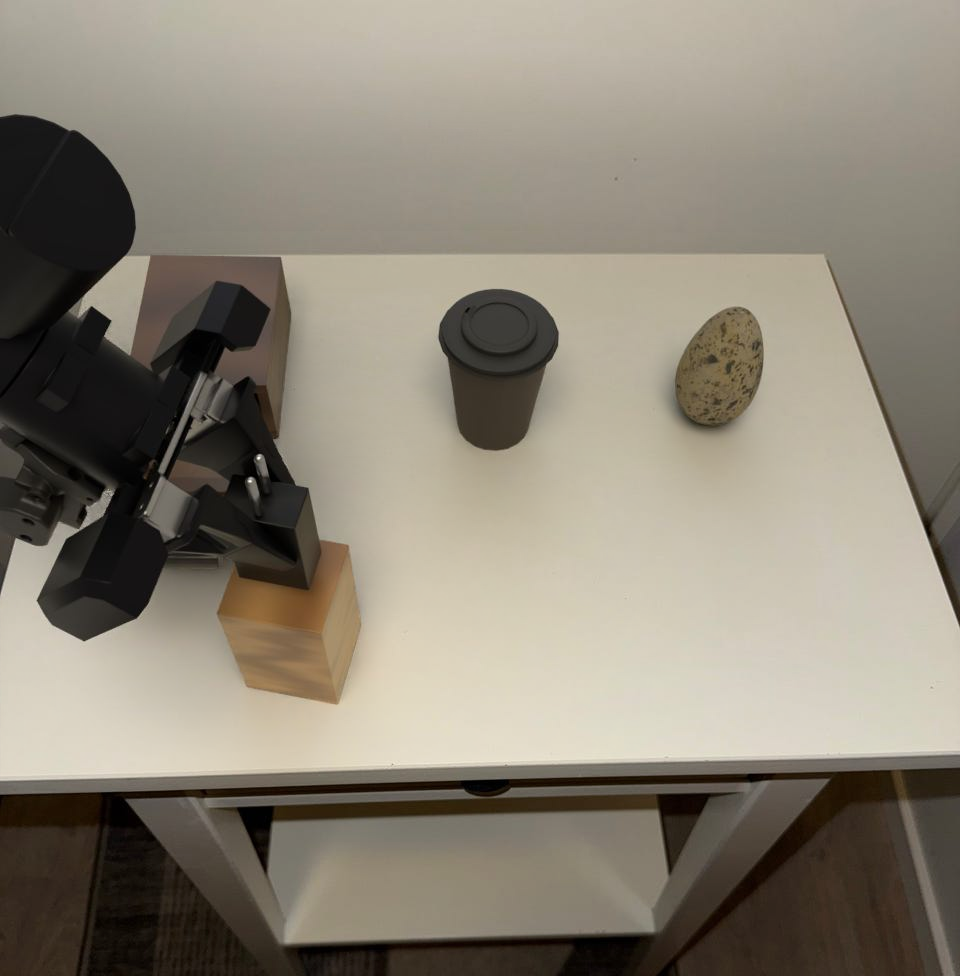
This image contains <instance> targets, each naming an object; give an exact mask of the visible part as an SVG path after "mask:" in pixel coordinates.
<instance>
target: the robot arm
mask: <svg viewBox="0 0 960 976" xmlns="http://www.w3.org/2000/svg"><path fill="white" fill-rule="evenodd" d="M136 222H137V221H136V210H135V208H134V204H133V200H132V198H131V194H130V191H129V189H128V187H127V186H126V183H125V182H124V180H123V177H122V175H121V174H120V173H119V171H118V170H117V169H116V167H115V166H114V164H113V163H112V162H111V160H110V159H109V157H108V156H107V155H105V153H103V151H101V149H99V147H98V146H97V145H96V144H94V143H93V141H91V140H90V139H89V138H88V137H86V136H85V135H84V134H82V133H81V132H80V131H78V130H76V129H70V130H69V129H67V128H66V127H64V126H62V125H59V124H58V123H56V122H54V121H51V120H48V119H45V118H41V117H38V116H36V115H29V114H28V115H27V114H17V113H15V114H9V115H8V114H7V115H3V116H0V440H1V443H2V444H3V445H4V446H5V447H7V448H9V450H11V451H14V452H15V453H17V454H18V455H19V456H20V457H21V458H22V459H23V463H22V466H21V468H20V470H19V472H18V474H17V476H16V478H14V477H9V476H3V475H2V476H0V530H1V531H3V533H5V534H7V535H9V536H10V537H12V538H14V539H17V540H19V541H22V542H25V543H27V544H30V545H32V546H35V547H45V546H48V545H49V542H50V540H51V538H52V536H53V534H54V532H55V530H56V528H57V526H58V524H59V523H61V524H63V525H66V526H68V527H71V528H74V529H75V530H78V531H77V532H75V533H73V534H71V535H70V536H68V537H67V538H66V539H65V540H64V541H63V545H62V546H61V548H60V550H59V552H58V555H57V556H56V559H55V561H54V563H53V565H52V567H51V568H50V571H49V573H48V576H47V577H46V580H45V581H44V584H43V586H42V588H41V590H40V593H39V594H38V597H37V598H36V602H37V604H38V606H39V608H40V610H41V611H42V613H43V615H44V617H45V619H47V621H48V622H49V624H50V625H51V626H52V627H55V628H57V629H59V630H61V631H62V632H64V633H66V634H69V635H70V636H72V637H74V638H76V639H78V640H80V641H82V642H87V641H89V640H91V639H93V638H96V637H97V636H100V635H102V634H105V633H107V632H110V631H112V630H113V629H116V628H119V627H121V626H123V625H125V624H127V623H130V622H133V621H134V620H137V619H138V618H139V617H140V615H141V614H142V613H143V612H144V610H145V609H146V608H147V607H148V605H149V603H150V601H151V598H152V596H153V593H154V591H155V588H156V586H157V584H158V582H159V579H160V577H161V574H162V572H163V569H164V568H163V567H164V565H165V562H166V560H167V558H168V555H169V553H171V552H182V553H194V554H203V555H210V556H216V557H220V558H221V557H222V558H223V559H226V560H229V561H230V560H231V561H233V560H234V561H239V562H244V563H248V564H253V565H258V566H262V567H267V568H271V569H276V570H281V571H286V570H289V569H291V568H294V567H295V565H296V562H297V560H296V559H295V558H294V557H293V556H292V555H291V554H290V553H289V552H288V551H287V549H286V548H285V547H284V546H283V545H282V544H281V543H280V542H279V541H277V540H276V539H275V538H274V537H273V536H271V535H270V534H269V533H268V532H266V531H265V530H264V529H263V528H261V527H260V526H259V525H258V524H257V523H255V522H254V521H253V520H252V519H250V518H249V517H248V516H247V515H245V514H244V513H243V512H242V511H241V510H239V509H238V508H237V507H236V506H235V505H233V504H232V503H231V502H230V501H228V500H227V499H226V498H225V497H223V496H222V495H221V494H220V493H218V492H217V491H216V490H215V489H214V488H212V487H211V486H210V485H208V484H205V485H203V486H202V487H200V488H198V489H196V490H195V491H193V492H191V493H187V492H186V491H184V490H183V489H181V488H180V487H178V486H176V485H175V484H173V483H172V482H170V481H169V480H168V478H169V475H170V473H171V471H172V469H173V466H174V464H175V462H176V459H177V460H180V461H184V462H188V463H191V464H195V465H199V466H202V467H206V468H209V469H211V470H213V471H215V472H217V473H218V474H219V475H221V476H222V477H223V478H225V479H226V480H228V481H229V482H230V480H231V477H232V475H233V474H237V475H242V476H248V477H253V478H259V477H258V473H257V469H256V465H255V462H254V457H255V455H256V454H262V455H263V456H264V458H265V462H266V466H267V470H268V474H269V478H270V481H275V482H281V483H286V484H292V485H297V484H296V482H295V479H294V478H293V476H292V474H291V473H290V471H289V469H288V467H287V465H286V463H285V461H284V459H283V457H282V455H281V453H280V452H279V450H278V447H277V445H276V443H275V441H274V438H272V436H271V434H270V432H269V429H268V427H267V425H266V423H265V420H264V418H263V416H262V413H261V411H260V409H259V406H258V404H257V402H256V400H255V397H254V391H255V389H256V382H255V381H254V380H253V379H252V378H251V377H249V376H247V377H245V378H244V379H242V380H241V381H239V382H238V383H236V384H235V385H231V384H230V383H229V382H227V381H226V380H225V379H223V378H220V377H218V376H217V375H216V374H214V372H215V370H216V368H217V365H218V363H219V361H220V358H221V356H222V354H223V352H224V349H225V347H226V348H227V349H228V350H229V351H231V352H238V351H249V350H251V349H252V348H253V347H255V346H256V344H257V341H258V339H259V337H260V334H261V332H262V329H263V327H264V325H265V322H266V320H267V317H268V315H269V313H270V310H271V309H270V308H269V307H268V306H267V305H266V304H265V303H264V302H262V301H261V300H260V299H259V298H258V297H256V296H255V295H254V294H253V293H252V292H250V291H249V290H248V289H247V288H246V287H244V286H243V285H239V284H234V283H228V282H222V281H215V282H214V283H213V284H212V285H211V286H209V287H208V288H207V289H206V290H205V291H203V292H202V293H201V294H200V295H199V296H197V297H196V298H195V299H194V300H192V301H191V302H190V303H189V304H188V305H186V306H185V307H184V308H183V309H182V310H180V311H179V312H178V313H177V314H176V315H174V316H173V317H172V319H171V321H170V323H169V325H168V327H167V329H166V331H165V333H164V335H163V338H162V340H161V342H160V344H159V346H158V348H157V350H156V352H155V354H154V356H153V358H152V361H151V363H150V365H151V368H152V371H153V372H152V371H151V370H150V369H148V368H147V367H145V366H144V365H143V364H141V363H140V362H138V361H137V360H136V359H134V358H133V357H131V356H130V355H131V354H129V353H127V351H125V350H124V349H122V348H120V347H119V345H116V344H115V343H114V342H112V341H111V340H110V339H108V338H107V337H106V336H105V335H106V333H107V331H108V329H109V327H110V326H111V324H112V322H113V321H112V320H113V319H110V318H109V317H107V316H106V315H105V314H103V313H102V312H101V311H99V310H98V309H97V308H95V307H94V306H92V305H90V307H88V308H87V309H86V310H85V311H84V312H83V313H82V314H81V315H80V316H79V317H78V316H76V315H75V314H73V313H71V312H70V310H71V309H72V308H73V307H74V306H75V305H76V304H77V303H79V301H80V300H81V299H82V298H83V297H84V296H86V294H87V293H88V292H89V291H90V290H92V289H93V288H94V287H95V286H96V285H97V284H98V283H99V282H100V281H101V280H102V279H103V278H104V277H105V276H106V275H107V274H108V273H109V272H110V271H111V270H112V269H113V268H114V267H115V266H117V264H118V263H119V262H120V261H122V260H123V259H124V257H126V256H127V254H128V253H129V252H130V250H131V248H132V246H133V244H134V240H135V234H136V231H137V225H136V224H137V223H136ZM165 434H166V435H165ZM164 436H165V438H164ZM151 461H154V462H153V464H152V467H151V469H150V471H149V473H148V475H147V478H146V479H144V478H143V477H144V476H143V475H144V474H145V472H146V471H147V469H148V467H149V464H150V463H149V462H151ZM106 491H111V492H113V493H112V495H111V498H110V500H109V501H108V504H107V506H106V509H105V511H104V513H103V515H102V516H101V517H99V518H98V519H96V520H94V521H93V522H91V523H90V524H88V525H86V526H85V527H83V528H82V529H81V527H82V526H83V524H84V522H85V520H86V518H87V516H88V510H87V507H91V506H92V505H94V504H96V503H98V502H99V501H100V500H101V499H102V497H103V494H104V493H105V492H106ZM234 561H233V562H234Z"/></svg>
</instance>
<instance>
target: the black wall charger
mask: <svg viewBox="0 0 960 976" xmlns="http://www.w3.org/2000/svg"><path fill="white" fill-rule="evenodd" d="M254 462H255V465H256V469H257V473H258V477H259V478H253V477H248V476H242V475H237V474H233V475H232V477H231V480H230V482H229V485H228V487H227V490H226V493H225V495H224V497H225V498H226V499H227V500H228V501H230V502H231V503H232V504H233V505H235V506H236V507H237V508H238V509H239V510H241V511H242V512H243V513H244V514H245V515H247V516H248V517H249V518H250V519H252V520H253V521H254V522H255V523H257V524H258V525H259V526H260V527H261V528H263V529H264V530H265V531H266V532H268V533H269V534H270V535H271V536H273V537H274V538H275V539H276V540H277V541H279V542H280V543H281V544H282V545H283V546H284V547H285V548H286V549H287V551H288V552H289V553H290V554H291V555H292V556H293V557H294V558H295V559H296V560H297V562H296V565H295V567H294V568H291V569H289V570H286V571H281V570H276V569H271V568H267V567H262V566H258V565H253V564H248V563H244V562H239V561H234V560H232V561H233V564H234V565H235V567H236V570H237V573H238V576H239V577H240V578H245V579H250V580H256V581H261V582H266V583H271V584H277V585H282V586H287V587H293V588H298V589H303V590H309V589H310V587H311V584H312V581H313V578H314V574H315V571H316V568H317V565H318V562H319V559H320V556H321V553H322V552H321V547H320V542H319V539H320V537H319V533H318V528H317V522H316V517H315V512H314V508H313V503H312V498H311V497H312V496H311V493H310V488H309V487H307V486H302V485H297V484H296V485H292V484H286V483H281V482H275V481H270V478H269V474H268V470H267V466H266V462H265V458H264V456H263V455H262V454H256V455H255V457H254Z"/></svg>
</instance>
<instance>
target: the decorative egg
mask: <svg viewBox="0 0 960 976" xmlns="http://www.w3.org/2000/svg"><path fill="white" fill-rule="evenodd" d="M764 357H765V350H764V339H763V333H762V329H761V326H760V323H759V321H758V319H757V318H756V316H755V315H754V314H753V313H752V311H750V310H749V309H747V308H745V307H742V306H730V307H727V308H724V309H722V310H720V311H718V312H717V313H715V314H713V315H712V316H711V317H710V318H708V319H707V321H705V323H703V325H702V326H701V327H700V328H699V329H698V330H697V331H696V332H695V334H694V335H693V337H692V338H691V339H690V340H689V342H688V344H687V345H686V347H685V349H684V351H683V353H682V355H681V357H680V359H679V362H678V363H677V367H676V370H675V371H676V372H675V377H674V393H675V397H676V400H677V403H678V405H679V407H680V409H681V411H682V412H683V413H684V414H685V415H686V416H687V417H688V418H690V420H691V421H694V422H695V423H697V424H700V425H704V426H712V427H713V426H720V425H725V424H728V423H730V422H732V421H733V420H735V419H737V418H739V416H741V415H742V414H743V413H744V412H745V411H746V410H747V409H748V408H749V406H750V405H751V404H752V402H753V401H754V399H755V397H756V394H757V392H758V390H759V387H760V384H761V380H762V377H763V370H764V360H765V359H764Z"/></svg>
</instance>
